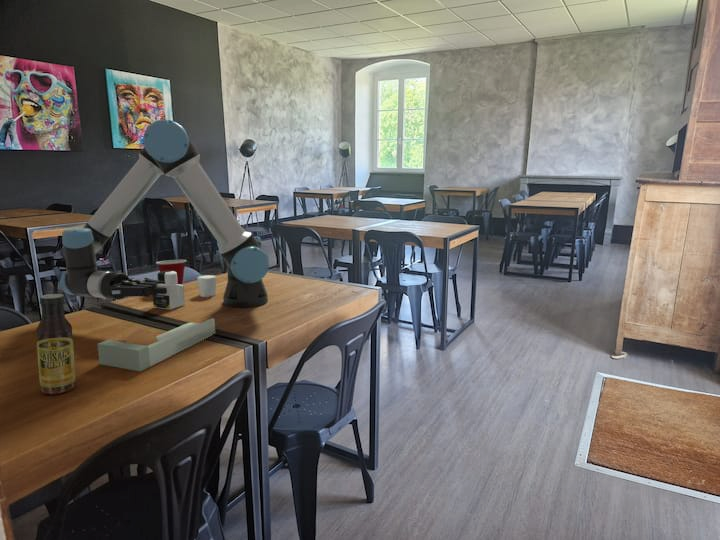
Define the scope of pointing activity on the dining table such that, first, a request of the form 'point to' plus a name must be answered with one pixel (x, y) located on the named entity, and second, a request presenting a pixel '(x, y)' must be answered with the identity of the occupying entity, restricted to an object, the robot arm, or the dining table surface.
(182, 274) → the plastic cup
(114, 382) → the dining table surface
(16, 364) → the dining table surface
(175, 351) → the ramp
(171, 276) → the medicine bottle
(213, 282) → the white tapered cup
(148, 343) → the ball
